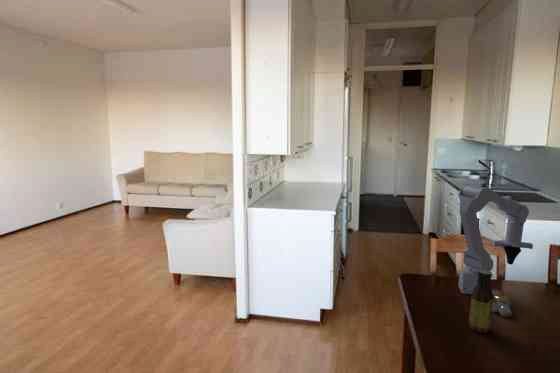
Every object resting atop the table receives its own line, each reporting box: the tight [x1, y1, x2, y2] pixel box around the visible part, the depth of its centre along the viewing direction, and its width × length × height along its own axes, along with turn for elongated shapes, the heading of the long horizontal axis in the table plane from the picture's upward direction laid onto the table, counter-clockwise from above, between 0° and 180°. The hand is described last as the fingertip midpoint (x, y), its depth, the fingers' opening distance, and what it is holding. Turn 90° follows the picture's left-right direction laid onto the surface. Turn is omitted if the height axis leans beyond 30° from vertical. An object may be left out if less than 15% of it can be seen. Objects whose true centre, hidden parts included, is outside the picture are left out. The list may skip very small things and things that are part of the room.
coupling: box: [493, 295, 512, 309], centre depth 141 cm, size 5×4×4 cm
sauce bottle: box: [468, 270, 493, 334], centre depth 124 cm, size 6×6×20 cm
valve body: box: [492, 289, 513, 318], centre depth 140 cm, size 6×14×4 cm, turn 167°
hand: (509, 263), depth 158 cm, fingers closed
